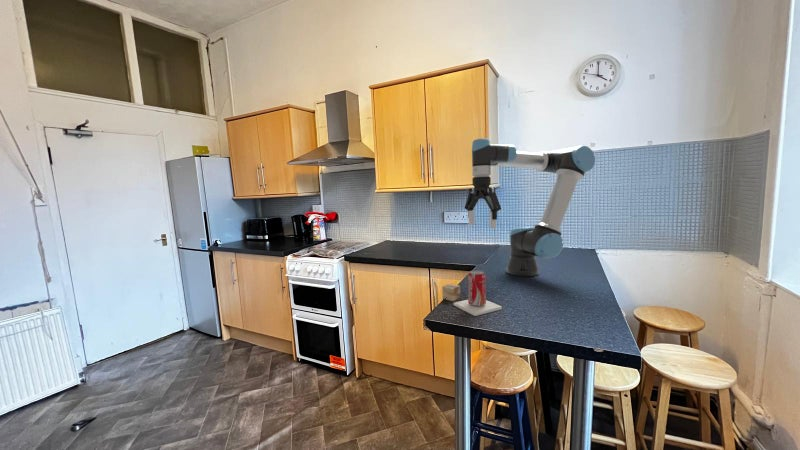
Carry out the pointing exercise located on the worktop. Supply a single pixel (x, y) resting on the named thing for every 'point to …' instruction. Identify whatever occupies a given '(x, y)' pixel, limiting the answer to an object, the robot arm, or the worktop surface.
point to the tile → (477, 307)
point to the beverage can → (476, 288)
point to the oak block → (451, 292)
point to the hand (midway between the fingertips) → (481, 226)
